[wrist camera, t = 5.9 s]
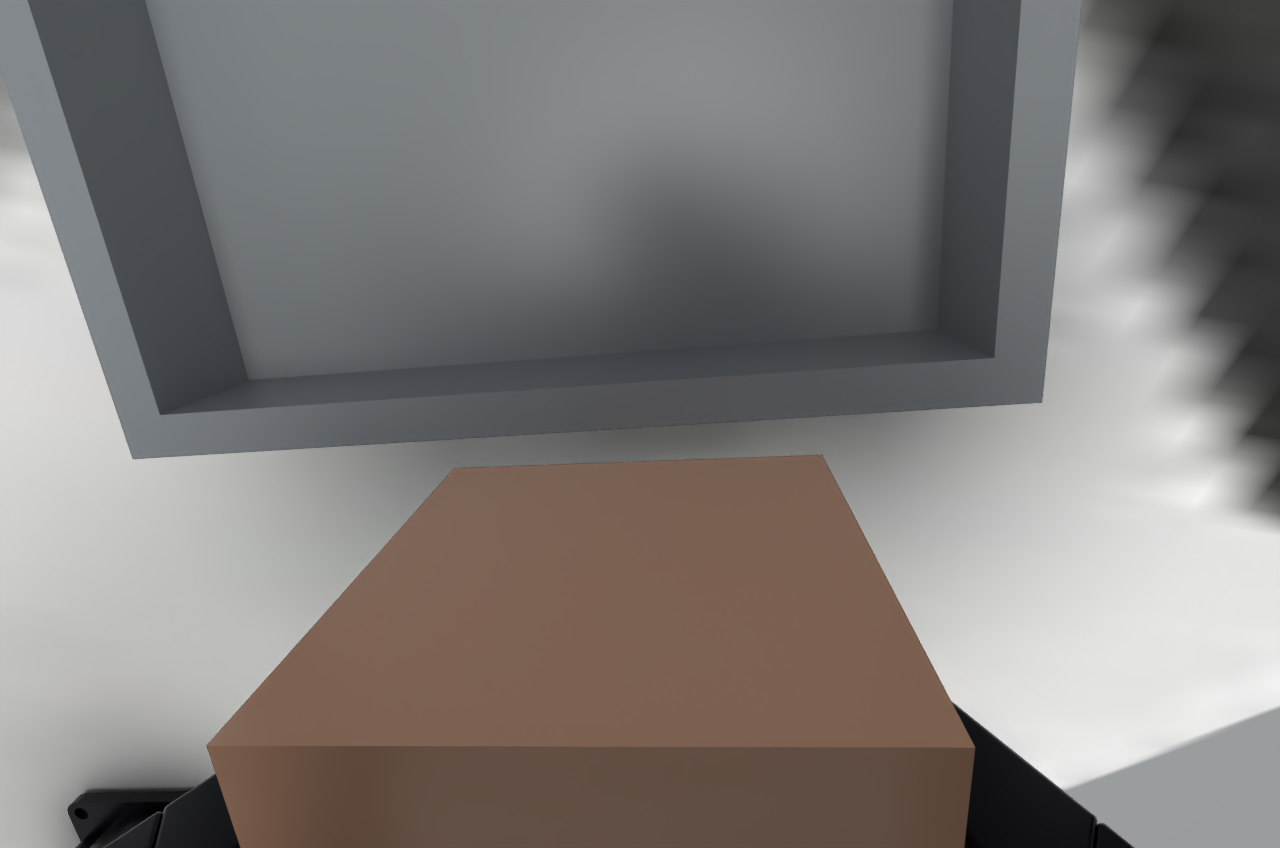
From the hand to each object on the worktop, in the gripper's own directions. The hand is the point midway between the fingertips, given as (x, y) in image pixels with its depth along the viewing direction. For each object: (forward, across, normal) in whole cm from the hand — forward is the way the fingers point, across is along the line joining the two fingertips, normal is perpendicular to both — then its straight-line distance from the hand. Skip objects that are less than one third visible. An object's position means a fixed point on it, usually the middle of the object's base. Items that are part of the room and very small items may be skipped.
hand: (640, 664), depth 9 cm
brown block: (+1, 0, 0) cm, 1 cm away
